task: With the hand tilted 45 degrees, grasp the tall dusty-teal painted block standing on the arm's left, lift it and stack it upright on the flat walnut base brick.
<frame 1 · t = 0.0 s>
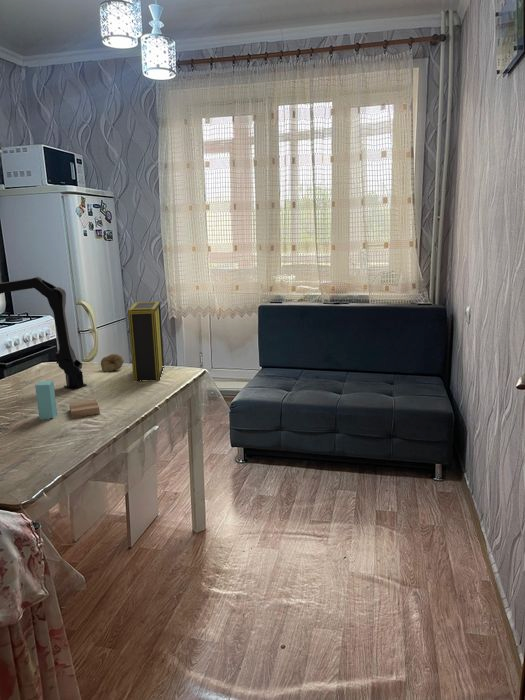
base brick: (84, 412, 183), on the table
tall block: (48, 416, 180), on the table
diorama: (149, 374, 228), on the table
fossil: (112, 370, 236), on the table
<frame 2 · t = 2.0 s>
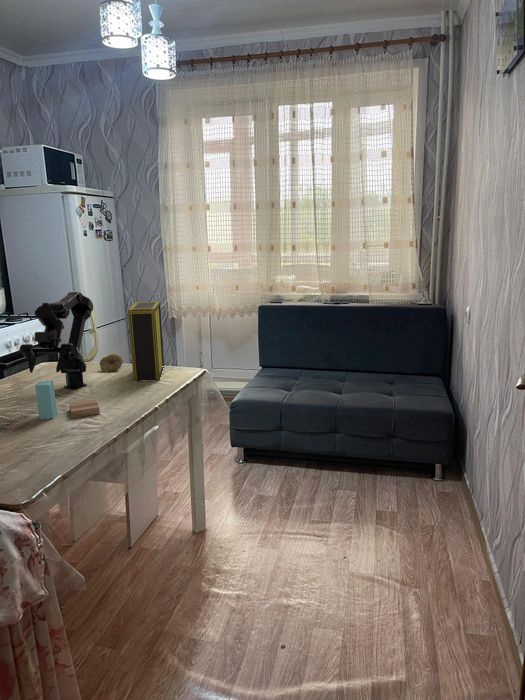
hand: (43, 372, 184), 14 cm above the table, tool tilted 45°, fingers open, 9 cm apart
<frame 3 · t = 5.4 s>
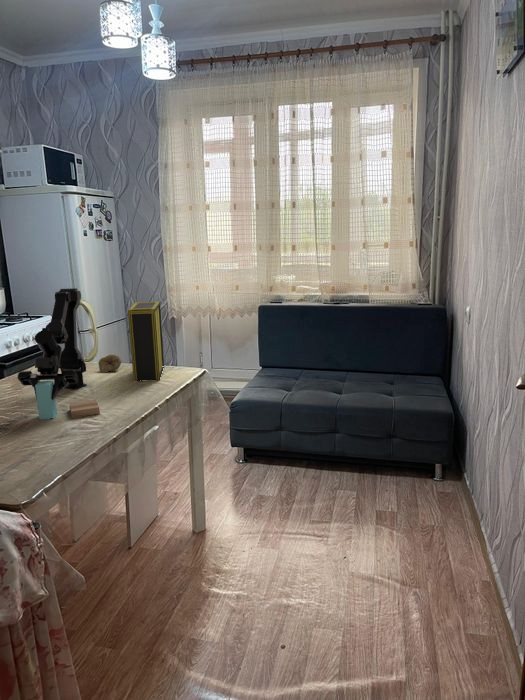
hand: (44, 399, 177), 7 cm above the table, tool tilted 45°, fingers closed on tall block, 4 cm apart
tall block: (48, 416, 180), on the table, touching gripper
when the fingers open (10 cm above the table, at t = 8.5 s): tall block stays where it is, resting on base brick.
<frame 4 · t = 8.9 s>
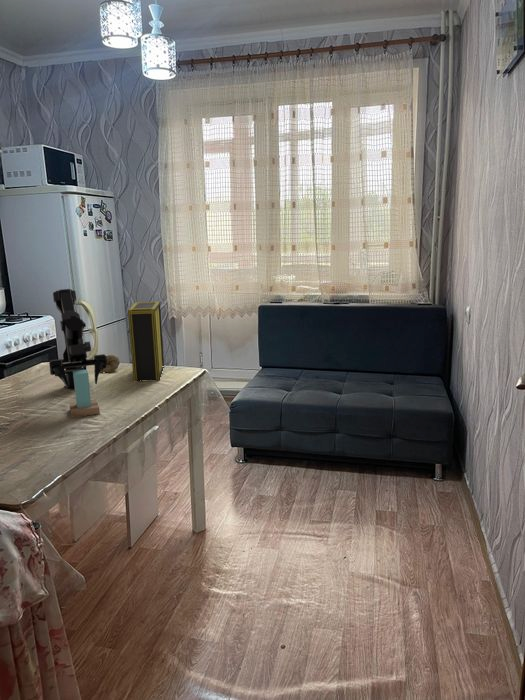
hand: (82, 385, 180), 10 cm above the table, tool tilted 45°, fingers open, 9 cm apart
tall block: (83, 405, 183), point 2 cm above the table, touching base brick
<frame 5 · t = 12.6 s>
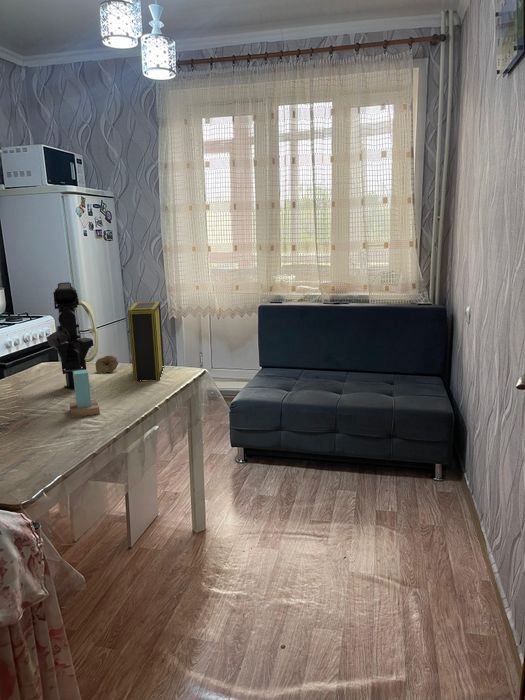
hand: (72, 363, 197), 13 cm above the table, tool pointing down, fingers open, 9 cm apart
at the end: tall block 0.0 cm off-centre on the base brick, point 2.5 cm above the base brick's base; tall block tilted 0°; the gripper is holding nothing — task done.
